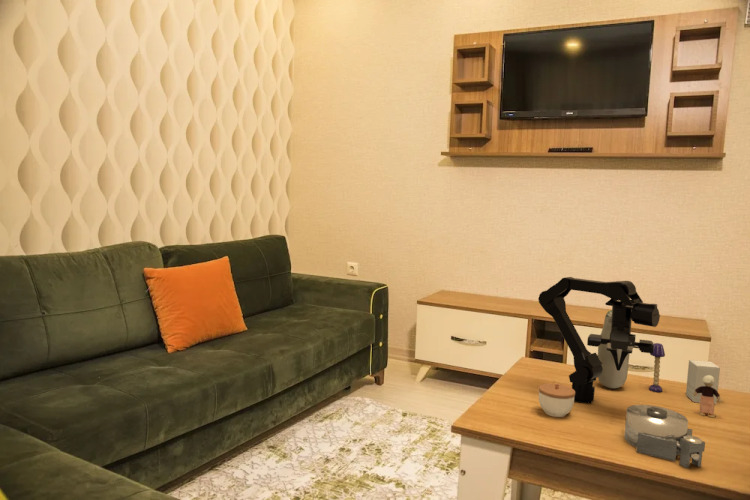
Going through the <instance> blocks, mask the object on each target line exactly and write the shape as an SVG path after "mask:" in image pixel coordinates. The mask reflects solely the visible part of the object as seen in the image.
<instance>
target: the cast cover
mask: <svg viewBox="0 0 750 500" xmlns="http://www.w3.org/2000/svg"><path fill="white" fill-rule="evenodd" d="M625 413H626V414H625V423H624V424H625V425H624V437H623V438H624V440H625V441H626V443H628V444H629V445H630V446H632V447H634V448H636V449H637V441H638V433H644V434H648V435H652V436H657V437H661V438H666V439H670V440H674V441H679V442H680V438H684V436H686V435H687V428H688V426H689V420H688V418H687V417H686V416H685V415H683V414H681V413H679V412H677V411H675V410H672V409H671V408H670V409H669V408H665V407H662V406H657V405H650V404H634V405H629V406H628V407H627V408H626V412H625ZM680 454H681V451H679V450H676V456H678V455H680Z"/></svg>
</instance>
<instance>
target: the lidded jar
mask: <svg viewBox="0 0 750 500" xmlns="http://www.w3.org/2000/svg"><path fill="white" fill-rule="evenodd" d="M574 397H575V390H574V389H572V387H570V386H568V385H565V384H560V383H557V382H555V383H550V382H548V383H547V382H546V383H541V384H540V385H538V402H539V405H540V407H541V409H542V410H543V411H544V413H545V414H546V415H547V416H550V417H553V418H564V417H565V416H566V415H567V414H569V413H570V412H571V411H572V409H573V406H574V403H575V401H574Z"/></svg>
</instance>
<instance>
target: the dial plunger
mask: <svg viewBox="0 0 750 500" xmlns="http://www.w3.org/2000/svg"><path fill="white" fill-rule="evenodd" d="M676 450H679V451H681V448H680V442H679V441H677V449H676ZM692 458H693V459H694V460H696V461H697V460H699V459H700V455H698V454H697V453H695V452H694V453H690V459H692Z"/></svg>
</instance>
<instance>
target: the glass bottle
mask: <svg viewBox="0 0 750 500" xmlns="http://www.w3.org/2000/svg"><path fill="white" fill-rule="evenodd" d="M611 319H612V309H610V310H608V311H607V312H606V314H605V316H604V322H603V327H602V329H601V332H600V335H602V338H606V339H610V333H611ZM621 352H622V349H618V361H620V357H621ZM630 354H631V353H628V355H627V356H626V358H625V359H624V362H623V364H622V366H621V369H620V371H618V370H617V369H616V365H615V362H614V358H613V356H612V354H611V352H610V351H608V350H607V345H606V344H601V345H599V346H598V347H597V355H598V358H599V360H600V361H601V362H602V363H603V364H601V365H602V368H603V370H602V373H601V375H600V376H599V377H597V379H598V382H599V383H600V384H601V385H603V386H604V387H606V388H607V389H612V390H613V389H619V388H621V387H622V386H624V385H625V383H626V381H627V379H628V372H629V364H630V363H629V361H630Z"/></svg>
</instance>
